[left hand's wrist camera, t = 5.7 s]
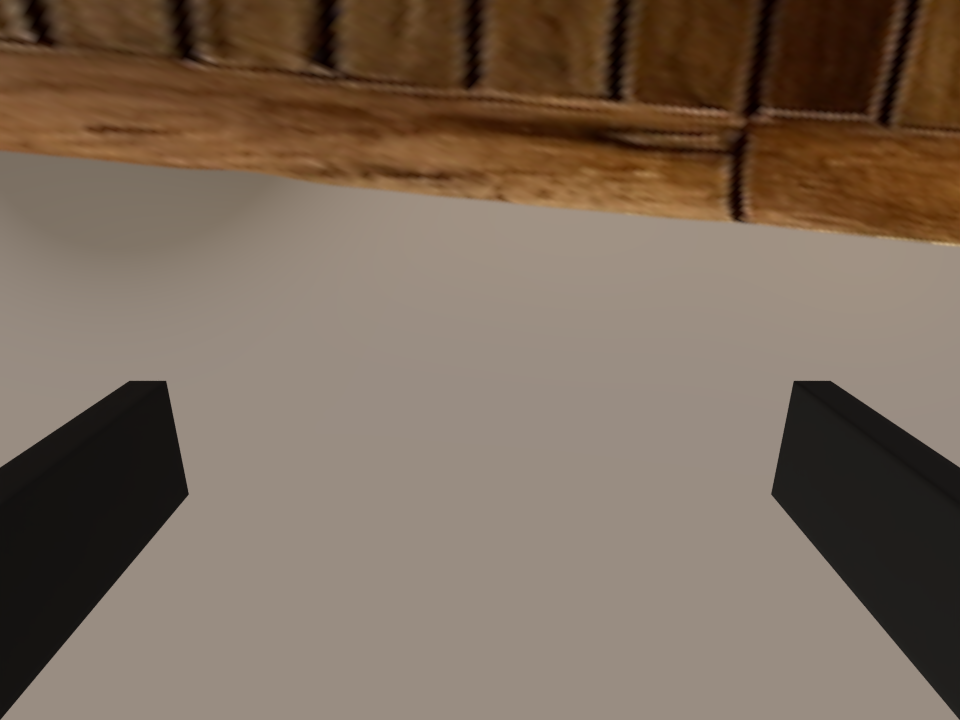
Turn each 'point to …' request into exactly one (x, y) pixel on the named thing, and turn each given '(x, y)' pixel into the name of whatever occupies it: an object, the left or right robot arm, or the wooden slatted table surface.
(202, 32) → the wooden slatted table surface
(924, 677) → the left robot arm
